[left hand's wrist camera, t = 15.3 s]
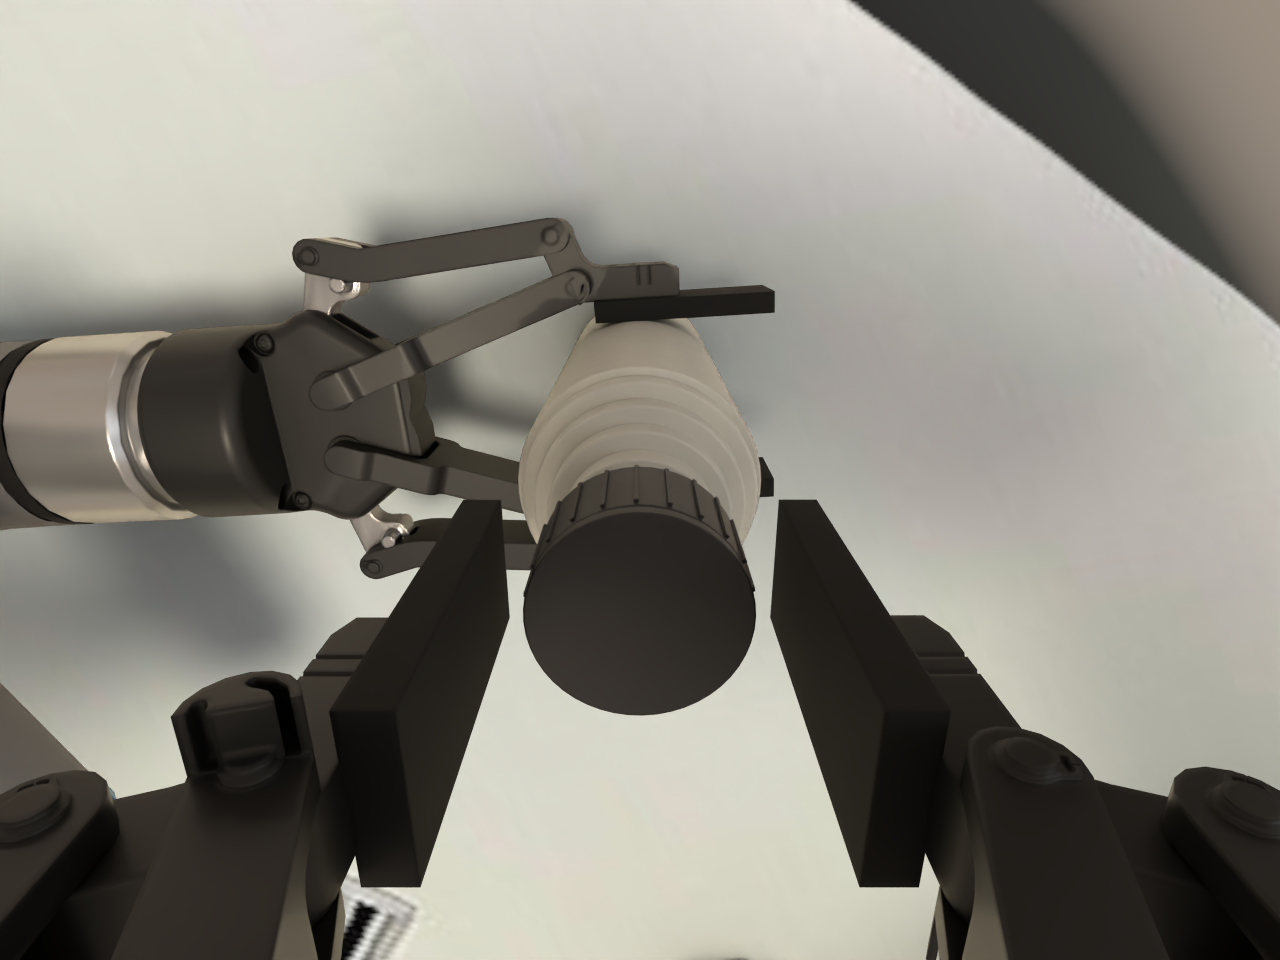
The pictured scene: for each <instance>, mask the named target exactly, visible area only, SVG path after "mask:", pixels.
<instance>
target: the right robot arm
mask: <svg viewBox="0 0 1280 960" xmlns="http://www.w3.org/2000/svg"><path fill="white" fill-rule="evenodd" d="M292 255H293V260H294V262H295V264H296V266H297V267H298V268H299V269H300V270H301V271H303V272H305V290H304V310H303V311H300V312H297V313H295V314H294V315H292V316H291V317H290V318H288V319H287V320H286V321H284V322H282V323H276V324H261V325H245V326H229V327H212V328H196V329H185V330H180V331H178V332H175V333H168V332H164V331H148V332H133V333H118V334H103V335H88V336H73V337H58V338H54V339H43V340H37V341H19V342H0V530H5V529H14V528H29V527H43V526H58V525H72V524H93V523H108V522H131V521H155V520H179V519H187V518H193V517H195V516H197V515H200V516H204V517H224V516H242V515H259V514H277V513H290V512H299V511H306V510H316V511H321V512H325V513H328V514H331V515H333V516H335V517H338V518H341V519H347V520H348V519H349V520H350V521H351V523H352V525H353V527H354V529H355V531H356V533H357V535H358V537H359V539H360V541H361V543H362V545H363V547H364V549H365V551H366V554H365V555H364V556H363V558H362V559H361V560H360V568H361V571H362V572H363V573H364V575H366V576H367V577H369V578H373V579H380V578H384V577H387V576H390V575H394V574H397V573H400V572H403V571H407V570H410V569H413V568H416V567H421V566H422V564H423V563H424V561H425V560H426V558H427V556H428V555H429V553H430V552H431V550H432V549H433V547H434V545H435V544H436V542H437V541H438V539H439V538H440V536H441V534H442V533H443V531H444V530H445V528H446V527H447V525H448V523H449V522H450V520H451V519H452V518H431V519H424V520H419V521H415V522H413V520H412V517H411V516H410V515H408V514H391V513H387V512H385V511H384V510H382V509H381V508H380V506H379V505H378V504H379V503H381V502H382V501H383V500H384V499H385V498H386V497H388V496H389V495H390V494H391V493H392V492H393V491H395V490H396V489H397V488H401V489H405V490H409V491H413V492H417V493H421V494H426V495H436V494H447V495H451V496H455V497H459V498H463V499H467V500H501V506H502V508H503V509H507V510H511V511H515V512H519V513H523V514H524V512H523V509H522V505H521V500H520V495H519V483H518V475H519V464H520V462H516V461H512V460H508V459H504V458H501V457H497V456H493V455H489V454H485V453H481V452H477V451H473V450H470V449H466V448H463V447H461V446H460V445H459V444H458V443H456V442H454V441H451V440H447V439H443V438H439V437H435V433H434V427H433V423H432V421H431V418H430V416H429V414H428V412H427V409H426V407H425V398H426V389H427V385H426V379H425V373H424V371H425V370H427V369H429V368H431V367H433V366H435V365H437V364H440V363H442V362H444V361H447V360H449V359H451V358H454V357H456V356H458V355H461V354H463V353H466V352H468V351H470V350H473V349H475V348H477V347H480V346H482V345H484V344H487V343H489V342H491V341H494V340H496V339H498V338H501V337H503V336H505V335H508V334H510V333H512V332H515V331H517V330H519V329H522V328H524V327H526V326H529V325H531V324H533V323H536V322H538V321H541V320H543V319H545V318H548V317H550V316H552V315H555V314H557V313H559V312H562V311H564V310H566V309H569V308H571V307H573V306H576V305H578V304H579V305H581V304H582V303H584V302H594V309H595V321H596V324H597V323H613V322H630V321H646V320H662V319H678V318H694V317H711V316H727V315H743V314H759V313H775V291H773V290H771V289H769V288H767V287H765V286H763V285H755V286H739V287H723V288H707V289H691V290H679V268H678V267H677V266H675V265H672V264H669V263H666V262H664V261H663V262H648V263H631V264H615V265H596V264H593V263H591V262H590V261H588V260H587V259H586V258H585V256H584V255H583V253H582V251H581V249H580V246H579V244H578V242H577V240H576V237H575V235H574V231H573V228H572V226H571V225H570V224H569V223H568V222H567V221H565V220H563V219H559V218H545V219H539V220H533V221H527V222H520V223H514V224H508V225H502V226H496V227H490V228H483V229H477V230H471V231H465V232H459V233H453V234H447V235H440V236H434V237H428V238H422V239H416V240H410V241H403V242H397V243H391V244H385V245H379V246H375V245H370V244H365V243H360V242H356V241H351V240H346V239H341V238H314V239H302V240H300V241H298V242H297V243H296V244H295V246H294V247H293V252H292ZM543 255H544V257H545V260H546V262H547V264H548V266H549V268H550V270H551V273H552V275H553V276H552V277H550V278H548V279H545V280H543V281H541V282H539V283H536V284H534V285H532V286H529V287H527V288H525V289H522V290H520V291H518V292H516V293H513V294H511V295H509V296H506V297H504V298H502V299H499V300H497V301H495V302H493V303H490V304H488V305H486V306H483V307H481V308H479V309H476V310H474V311H472V312H470V313H467V314H465V315H463V316H460V317H458V318H456V319H453V320H451V321H449V322H447V323H444V324H442V325H440V326H437V327H435V328H433V329H430V330H428V331H425V332H423V333H421V334H418V335H416V336H414V337H411V338H409V339H407V340H405V341H402V342H400V343H398V344H395V345H394V344H393V343H391V342H389V341H388V340H386V339H384V338H382V337H381V336H379V335H377V334H376V333H374V332H372V331H371V330H369V329H367V328H366V327H364V326H362V325H361V324H359V323H357V322H356V321H354V320H352V319H350V318H349V317H347V316H345V315H344V314H342V313H340V307H341V305H342V303H343V302H344V301H345V300H351V299H355V298H359V297H362V296H364V295H365V294H366V293H367V292H368V290H369V286H370V282H381V281H387V280H393V279H399V278H406V277H412V276H418V275H424V274H431V273H437V272H443V271H449V270H456V269H462V268H468V267H474V266H481V265H487V264H493V263H500V262H506V261H512V260H518V259H525V258H531V257H537V256H543ZM758 458H759V462H760V472H761V488H760V497H770V496H774V478H773V476H772V474H771V472H770V471H769V469H768V467H767V465H766V463H765V461H764V459H763V457H758ZM503 534H504V547H505V561H506V570H531V568H530V565H531V562H532V559H533V556H534V553H535V550H536V546H537V543H536V542H535V540H534V538H533V536H532V534H531V532H530V529H529V526H528V523H527V521H526V520H503ZM71 770H82V771H88V770H87V769H86V768H85V767H84V766H83V765H82V764H81V763H80V762H79V761H78V760H77V759H76V758H75V757H74V756H73V755H72V754H71V753H70V752H69V751H68V750H67V749H66V748H65V747H64V746H63V745H62V744H61V743H60V742H59V741H58V740H57V739H56V738H55V737H54V736H53V735H52V734H51V733H50V732H49V731H48V730H47V729H46V728H45V727H44V726H43V725H42V724H41V723H40V722H39V721H38V720H37V719H36V718H35V717H34V716H33V715H32V714H31V713H30V712H29V711H28V710H27V709H26V708H25V707H24V706H23V705H22V704H21V703H20V702H19V701H18V700H17V699H16V698H15V697H14V696H13V695H12V694H11V693H10V692H9V691H8V690H7V689H6V688H5V687H4V686H3V685H2V684H1V683H0V794H2V793H4V792H6V791H8V790H10V789H12V788H14V787H15V786H17V785H19V784H21V783H24V782H26V781H29V780H32V779H36V778H38V777H41V776H45V775H48V774H51V773H58V772H65V771H71ZM108 787H109V786H108ZM109 790H110V793H111V796H112V799H113V800H115V799H116V797H115V793H114V791H113V790H112V789H111V788H110V787H109Z"/></svg>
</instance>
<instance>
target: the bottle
mask: <svg viewBox="0 0 1280 960" xmlns="http://www.w3.org/2000/svg"><path fill="white" fill-rule="evenodd" d="M635 465H639V467H653V468H659V469H665V468H667V469H669V471H672V472H675V473H678V474H680V475H682V476H685V477H687V478H689V479H691V480H693V479H695V480H696V481H697V484H699V485H701V486H702V487H703V488H704V489H706V490H707V491H708V492H709V493H711V495H712V496H713V497H714V498H715V497H716V496H717V497H718V498H719V501H720V504H721V506H722V507H723V509H724V510H725V511H726V513H727V515H728V517H729V519H730V520H731V519H733V520H734V522H735V526H736V529H737V532H738V535H739V538H740V541H741V545H742V544H743V542H744V540H745V538H746V536H747V534H748V532H749V530H750V527H751V524H752V522H753V519H754V516H755V513H756V510H757V507H758V502H759V497H760V488H761V472H760V462H759V458H758V453H757V449H756V446H755V444H754V441H753V438H752V436H751V434H750V432H749V430H748V428H747V426H746V424H745V422H744V420H743V418H742V416H741V415H740V413H739V411H738V409H737V407H736V405H735V403H734V401H733V399H732V397H731V396H730V394H729V392H728V390H727V388H726V386H725V384H724V382H723V380H722V378H721V376H720V375H719V373H718V371H717V369H716V367H715V365H714V363H713V361H712V359H711V357H710V356H709V354H708V352H707V350H706V348H705V346H704V344H703V342H702V340H701V338H700V336H699V335H698V333H697V331H696V329H695V328H694V326H693V325H692V324H691V322H690V321H689V320H688V319H687V318H678V319H662V320H646V321H630V322H613V323H597V324H596V321H595V317H594V318H593V319H592V320H591V321H590V322H589V323H588V324H587V326H586V327H585V328H584V330H583V332H582V334H581V335H580V337H579V339H578V341H577V343H576V345H575V347H574V349H573V351H572V352H571V354H570V356H569V358H568V360H567V362H566V364H565V366H564V368H563V370H562V371H561V373H560V375H559V377H558V379H557V381H556V383H555V385H554V387H553V388H552V390H551V392H550V394H549V396H548V398H547V400H546V402H545V404H544V406H543V407H542V409H541V411H540V413H539V415H538V417H537V419H536V421H535V423H534V424H533V426H532V428H531V430H530V432H529V434H528V436H527V439H526V442H525V444H524V447H523V450H522V455H521V459H520V464H519V475H518V483H519V495H520V500H521V505H522V509H523V512H524V515H525V518H526V521H527V523H528V526H529V529H530V532H531V534H532V536H533V538H534V540H535V542H536V543H538V540H539V537H540V534H541V531H542V528H543V525H544V524H547V523H548V521H549V519H550V517H551V515H552V514H553V512H554V510H555V507H556V504H557V502H558V501H559V500H560V501H562V500H563V499H564V498H565V497H566V496H567V495H568V494H569V493H570V492H571V491H572V490H573V489H575V488H576V487H577V485H578V483H580V482H582V483H583V482H585V481H586V480H588V479H590V478H592V477H594V476H596V475H599V474H602V473H604V472H605V470H609V471H610V470H615V469H620V468H626V467H635Z"/></svg>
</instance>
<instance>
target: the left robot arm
mask: <svg viewBox="0 0 1280 960" xmlns="http://www.w3.org/2000/svg"><path fill="white" fill-rule="evenodd" d="M509 618H510V616H509V602H508V589H507V575H506V561H505V547H504V534H503V520H502V506H501V500H463V501H462V503H461V505H460V506H459V508H458V509H457V511H456V512H455V514H454V516H453V517H452V519H451V520H450V522H449V523H448V525H447V527H446V528H445V530H444V531H443V533H442V534H441V536H440V538H439V539H438V541H437V542H436V544H435V545H434V547H433V549H432V550H431V552H430V553H429V555H428V556H427V558H426V560H425V561H424V563H423V564H422V566H421V567H420V569H419V571H418V572H417V574H416V575H415V577H414V578H413V580H412V582H411V583H410V585H409V586H408V588H407V589H406V591H405V593H404V594H403V596H402V597H401V599H400V600H399V602H398V603H397V605H396V607H395V608H394V610H393V611H392V613H391V614H390V616H389V618H356V619H354V620H353V621H351V622H350V623H348V624H347V625H345V626H344V627H342V628H341V629H339V630H338V631H336V632H335V633H333V634H332V635H331V636H330V637H329V639H328V640H327V641H326V643H325V644H324V645H323V647H322V648H321V649H320V651H319V652H318V653H317V655H316V659H313V660H312V661H311V663H310V664H309V665H308V667H307V668H306V669H305V671H304V672H303V676H300V677H299V679H298V680H296V679H295V678H293V677H292V676H291V675H289V674H284V673H280V672H275V671H262V672H249V673H245V674H241V675H237V676H233V677H229V678H225V679H223V680H221V681H218V682H216V683H214V684H211V685H209V686H207V687H205V688H202V689H201V690H199V691H198V692H197V693H195V694H194V695H192V696H191V697H189V698H188V699H186V700H185V701H184V702H182V704H181V705H180V706H179V707H178V709H177V710H176V711H175V712H174V714H173V715H172V716H171V720H172V723H173V727H174V731H175V734H176V738H177V741H178V745H179V749H180V752H181V756H182V759H183V763H184V767H185V770H186V774H187V779H186V781H185V783H183V784H179V785H176V786H172V787H169V788H164V789H160V790H155V791H151V792H146V793H142V794H137V795H133V796H128V797H124V798H119V799H115V800H113V799H112V796H111V793H110V790H109V787H108V784H107V781H106V780H105V779H103V778H102V777H101V776H100V775H98V774H97V773H96V772H90V771H82V770H71V771H65V772H58V773H51V774H48V775H45V776H41V777H38V778H36V779H32V780H29V781H26V782H24V783H21V784H19V785H17V786H15V787H14V788H12V789H10V790H8V791H6V792H4V793H2V794H0V960H341V952H342V942H343V933H344V924H345V910H344V903H343V897H342V892H341V886H342V883H343V881H344V879H345V877H346V875H347V872H348V870H349V868H350V866H351V863H352V861H353V859H354V857H355V856H356V862H357V867H358V873H359V878H360V884H361V887H421V884H422V881H423V878H424V875H425V872H426V869H427V866H428V863H429V860H430V857H431V854H432V851H433V848H434V844H435V841H436V838H437V835H438V832H439V829H440V826H441V823H442V820H443V817H444V814H445V811H446V808H447V805H448V802H449V799H450V796H451V793H452V790H453V787H454V784H455V781H456V778H457V775H458V772H459V769H460V766H461V763H462V760H463V757H464V754H465V751H466V748H467V745H468V742H469V739H470V736H471V733H472V730H473V727H474V723H475V720H476V717H477V714H478V711H479V708H480V705H481V702H482V699H483V696H484V693H485V690H486V687H487V684H488V681H489V678H490V675H491V672H492V669H493V666H494V663H495V660H496V657H497V654H498V651H499V648H500V645H501V642H502V639H503V636H504V633H505V630H506V627H507V624H508V621H509ZM770 618H771V621H772V624H773V627H774V630H775V633H776V636H777V639H778V642H779V645H780V648H781V651H782V654H783V657H784V660H785V663H786V666H787V669H788V672H789V675H790V678H791V681H792V684H793V687H794V690H795V693H796V696H797V699H798V702H799V705H800V708H801V711H802V714H803V717H804V720H805V723H806V727H807V730H808V733H809V736H810V739H811V742H812V745H813V748H814V751H815V754H816V757H817V760H818V763H819V766H820V769H821V772H822V775H823V778H824V781H825V784H826V787H827V790H828V793H829V796H830V799H831V802H832V805H833V808H834V811H835V814H836V817H837V820H838V823H839V826H840V829H841V832H842V835H843V838H844V841H845V844H846V848H847V851H848V854H849V857H850V860H851V863H852V866H853V869H854V872H855V875H856V878H857V881H858V884H859V887H919V884H920V878H921V873H922V867H923V862H924V856H925V853H926V855H927V858H928V860H929V862H930V864H931V867H932V869H933V871H934V873H935V875H936V878H937V880H938V882H939V884H940V887H939V892H938V897H937V902H936V907H935V912H934V917H933V922H932V927H931V932H930V937H929V942H928V949H927V956H926V960H936V958H937V953H938V950H939V959H940V960H1280V791H1279V790H1278V789H1276V788H1274V787H1272V786H1270V785H1268V784H1266V783H1264V782H1262V781H1260V780H1258V779H1255V778H1253V777H1250V776H1245V775H1244V774H1240V773H1237V772H1234V771H1230V770H1224V769H1217V768H1210V767H1199V768H1191V769H1185V770H1184V771H1183V772H1181V773H1180V774H1179V775H1177V776H1176V777H1175V778H1174V781H1173V784H1172V787H1171V790H1170V793H1169V796H1168V797H1166V796H1161V795H1157V794H1152V793H1148V792H1143V791H1139V790H1134V789H1130V788H1125V787H1121V786H1116V785H1112V784H1108V783H1105V782H1101V781H1098V780H1094V778H1093V776H1092V774H1091V773H1090V771H1089V770H1088V768H1087V767H1086V766H1085V764H1084V763H1083V761H1082V760H1081V759H1080V758H1079V757H1077V756H1076V755H1075V754H1073V753H1072V752H1071V751H1070V750H1068V749H1067V748H1066V747H1065V746H1063V745H1062V744H1060V743H1058V742H1056V741H1054V740H1052V739H1050V738H1048V737H1046V736H1044V735H1042V734H1039V733H1035V732H1032V731H1028V730H1024V729H1021V727H1020V726H1019V725H1018V723H1017V722H1016V721H1015V719H1014V718H1013V717H1012V715H1011V714H1010V713H1009V711H1008V710H1007V709H1006V707H1005V706H1004V705H1003V703H1002V702H1001V701H1000V699H999V698H998V697H997V695H996V694H995V693H994V691H993V690H992V689H991V687H990V686H989V685H988V683H987V682H986V681H985V679H984V678H983V677H982V675H981V674H977V669H976V668H975V666H974V665H973V664H972V662H971V661H970V660H969V658H968V657H965V655H964V652H963V650H962V649H961V648H960V646H959V645H958V644H957V642H956V641H955V640H954V638H953V637H952V636H951V634H950V633H949V632H947V631H946V630H944V629H943V628H941V627H940V626H938V625H937V624H936V623H934V622H933V621H931V620H930V619H928V618H927V617H925V616H924V615H890V614H889V613H888V611H887V610H886V608H885V607H884V605H883V603H882V602H881V600H880V599H879V597H878V596H877V594H876V592H875V591H874V589H873V588H872V586H871V585H870V583H869V582H868V580H867V578H866V577H865V575H864V574H863V572H862V571H861V569H860V567H859V566H858V564H857V563H856V561H855V560H854V558H853V556H852V555H851V553H850V552H849V550H848V549H847V547H846V545H845V544H844V542H843V541H842V539H841V538H840V536H839V534H838V533H837V531H836V530H835V528H834V527H833V525H832V523H831V522H830V520H829V519H828V517H827V516H826V514H825V512H824V511H823V509H822V508H821V506H820V505H819V503H818V501H817V500H779V506H778V520H777V534H776V548H775V561H774V575H773V589H772V602H771V616H770Z"/></svg>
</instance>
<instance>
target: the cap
mask: <svg viewBox="0 0 1280 960" xmlns="http://www.w3.org/2000/svg"><path fill="white" fill-rule="evenodd" d="M530 568H531V572H530V575H529V578H528V581H527V584H526V588H525V591H524V597H525V598H524V606H523V622H524V628H525V634H526V637H527V640H528V643H529V647H530V649H531V651H532V653H533V655H534V657H535V659H536V661H537V662H538V664H539V665H540V667H541V668H542V670H543V671H544V672H545V673H546V674H547V676H548V677H549V678H550V679H551V680H552V681H553V682H554V683H555V684H556V685H557V686H559V687H560V688H561V689H562V690H563V691H565V692H566V693H568V694H569V695H571V696H572V697H574V698H575V699H577V700H579V701H581V702H583V703H585V704H587V705H590V706H592V707H595V708H598V709H600V710H604V711H608V712H612V713H618V714H625V715H655V714H661V713H667V712H672V711H675V710H678V709H681V708H685V707H687V706H689V705H692V704H694V703H696V702H698V701H700V700H702V699H703V698H705V697H707V696H709V695H710V694H712V693H713V692H714V691H716V690H717V689H718V688H720V687H721V686H722V685H723V684H724V683H725V682H726V681H727V680H728V679H729V678H730V677H731V676H732V675H733V673H734V672H735V671H736V670H737V668H738V667H739V666H740V664H741V662H742V661H743V659H744V657H745V656H746V653H747V651H748V649H749V646H750V644H751V641H752V637H753V633H754V630H755V621H756V605H755V598H754V593H753V592H754V591H755V587H754V584H753V581H752V577H751V574H750V571H749V568H748V565H747V560H746V557H745V554H744V551H743V548H742V545H741V541H740V538H739V535H738V532H737V529H736V526H735V522H734V520H733V519H731V520H730V519H729V517H728V515H727V513H726V511H725V510H724V509H723V507H722V506H721V504H720V501H719V498H718V497H717V496H716V497H715V498H714V497H713V496H712V495H711V493H709V492H708V491H707V490H706V489H704V488H703V487H702V486H701V485H699V484H697V481H696V480H695V479H693V480H691V479H689V478H687V477H685V476H682V475H680V474H678V473H675V472H672V471H669V469H667V468H665V469H659V468H653V467H639V465H635V467H626V468H620V469H615V470H610V471H609V470H605V472H604V473H602V474H599V475H596V476H594V477H592V478H590V479H588V480H586V481H585V482H583V483H582V482H580V483H578V485H577V487H576V488H575V489H573V490H572V491H571V492H570V493H569V494H568V495H567V496H566V497H565V498H564V499H563V500H562V501H560V500H559V501H558V502H557V504H556V507H555V510H554V512H553V514H552V515H551V517H550V519H549V521H548V523H547V524H544V525H543V528H542V531H541V534H540V537H539V540H538V543H537V546H536V550H535V553H534V556H533V559H532V562H531V565H530Z"/></svg>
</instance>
